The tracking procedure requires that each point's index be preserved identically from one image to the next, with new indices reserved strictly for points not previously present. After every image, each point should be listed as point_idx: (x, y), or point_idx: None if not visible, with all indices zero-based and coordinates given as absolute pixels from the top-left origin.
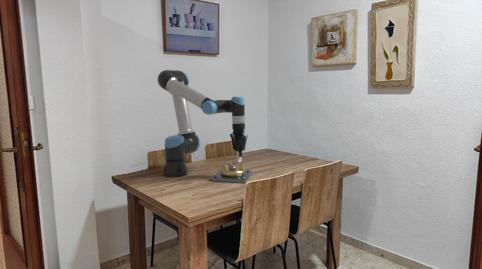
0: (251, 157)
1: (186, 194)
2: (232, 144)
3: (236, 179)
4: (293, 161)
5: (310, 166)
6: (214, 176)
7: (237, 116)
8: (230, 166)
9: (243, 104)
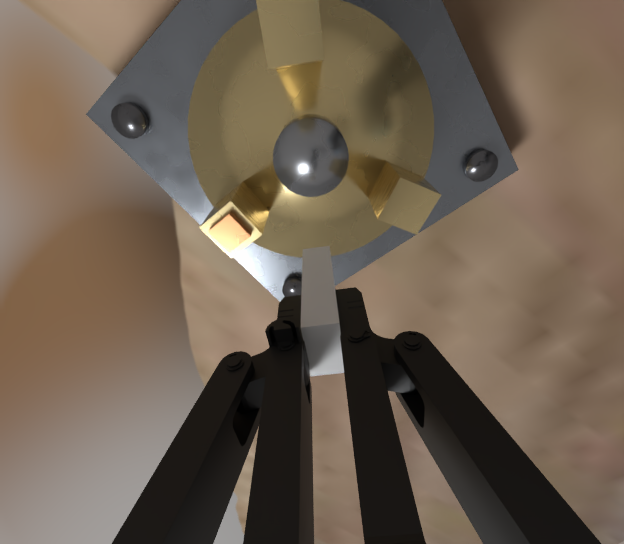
0: (565, 483)
1: None
2: (475, 403)
3: (138, 53)
4: (352, 527)
5: (244, 519)
6: None
7: None
8: (319, 139)
9: None
